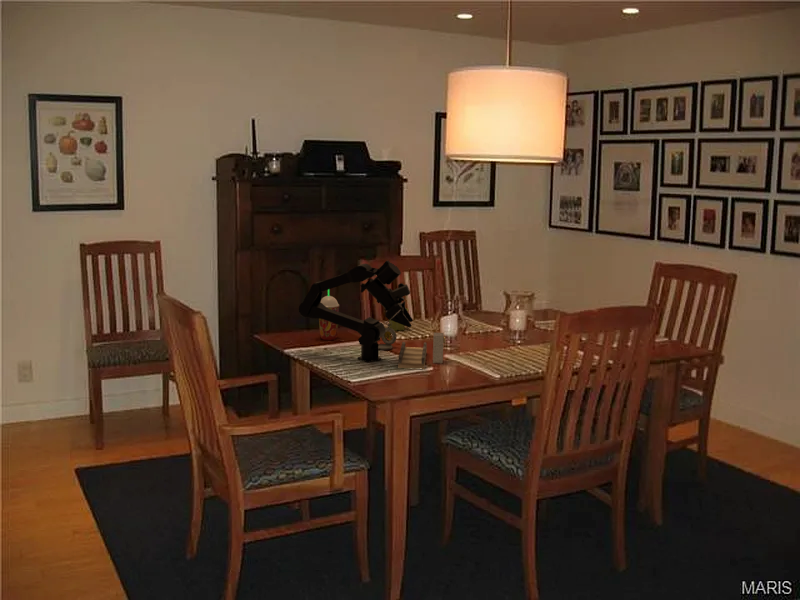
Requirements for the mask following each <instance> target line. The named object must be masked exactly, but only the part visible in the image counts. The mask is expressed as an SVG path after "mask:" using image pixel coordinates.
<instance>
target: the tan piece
mask: <svg viewBox="0 0 800 600" xmlns="http://www.w3.org/2000/svg"><path fill="white" fill-rule="evenodd" d="M427 343H428V342H425V341H424V342H423V346H422V347H417V346H416V347H414V346H413V347H411V346H406V341H402V342H401V346H400V350H399V355H398V363H397V364H398V366H397V368H398V367H399V368H422V369H424V370H425V368H424V367H425V366H426V359H427V349H428V347H427Z"/></svg>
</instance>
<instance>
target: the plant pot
mask: <svg viewBox="0 0 800 600" xmlns="http://www.w3.org/2000/svg"><path fill="white" fill-rule="evenodd" d="M405 308H406V309H407V311H408V312H409V308H407V307H405ZM388 321H390V322H388V323H389V324H390V326H389V328H392V329H393V330H394V331H395V332H397V331H400V332H401V331H402V332H403V331H404V330H405V327H406V326H404V325H402V324H399V323H397V322H394V321H391V320H388ZM391 322H392V325H391Z"/></svg>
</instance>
